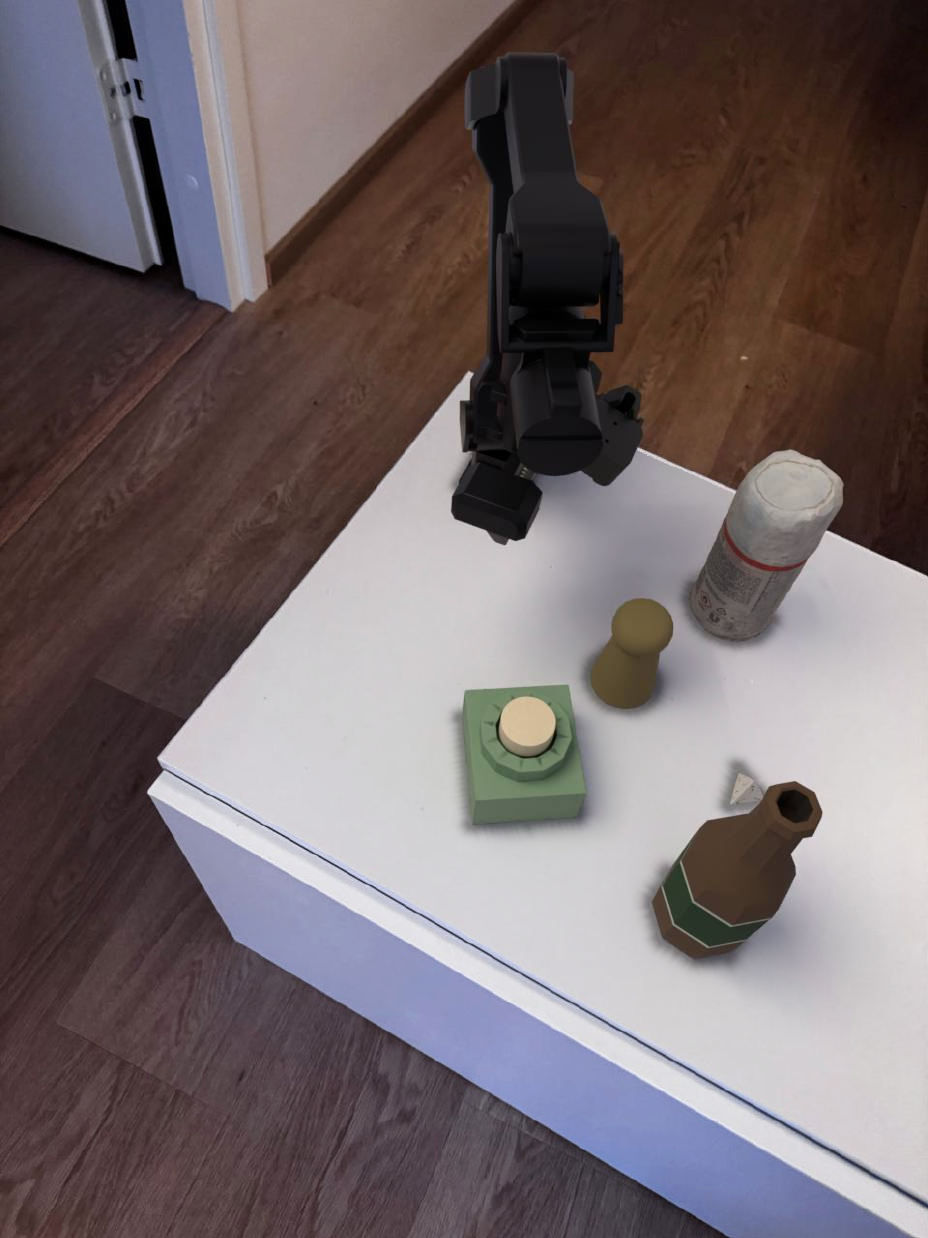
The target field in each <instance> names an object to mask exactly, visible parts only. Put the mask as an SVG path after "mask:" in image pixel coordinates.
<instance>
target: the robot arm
mask: <svg viewBox="0 0 928 1238" xmlns="http://www.w3.org/2000/svg"><path fill="white" fill-rule="evenodd" d="M574 80H575V72H574V71H573V70H571V69H570V68H568V67H567V60H566V57H565V56H564V57H563V56H558V55H557V53H556V52H506V54H505V55H504V56H497V58H496V60H495V62H493V63H489V64H487V65H484V66H481V67H478V68H476V69H473V70H471V71H469V73H468V75H467V79H466V82H465V87H464V127H465V130H467V131H468V130H469V131H470V130H471V150H472V152H473V154H474V157H475V158H476V160H477V163H478V164H479V166H480V168H481V170H482V172H483V174H484V176H485V178H486V181H488V185H489V187H488V188H489V189H488V191H489V192H488V193H489V195H488V197H489V198H488V242H487V243H488V245H487V246H488V248H487V250H488V251H487V302H486V303H487V307H486V308H487V309H486V310H487V311H486V353H485V355H484V357H483V358H482V359H481V361H480V363H479V364H478V366H477V368H476V369H475V371H474V373H473V374H472V376H471V377H470V378H469V379H470V380H469V399H467V400H466V399H465V400H464V399H463V400H462V399H461V400H459V429H460V430H459V431H460V441H461V442H460V443H461V453H463V454H464V453H465V454H467V453H468V452H471V458H470V460H469V462H468V463H467V466H466V467H465V469H464V470H463V473H462V474H461V476H460V478H459V479H458V484H457V486H456V488H455V489H454V492H453V493H452V496H451V504H450V506H451V507H450V513H451V515H452V517H453V518H454V520H456V521H459V522H460V523H464V524H466V525H470V526H472V527H475V528H478V529H481V530H483V531H485V532H486V533H487V534H488V536H489V537H490V538H491V540H493V542H494V543H497V544H499V545H501V546H507V544H508V543H509V540H510V541H513V542H518V541H522V540H524V539H526V537H527V535H528V533H529V531H530V529H531V527H532V526H533V524H534V522H535V519H536V517H537V515H538V513H539V511H540V509H541V508H540V507H541V504H542V502H543V501H542V500H543V496H544V495H543V494H544V492H543V491H542V489H541V488H540V487H539V486H538V485H537V483H536V482H535V481H534V480H533V479H534V477H535V475H536V474H537V475H541V476H545V477H562V476H569V475H572V474H576V473H578V472H581V473H583V474H584V475H586V476H588V478H591V479H592V481H593V482H594V483H595V484H597V485H599V486H602V487H607V486H610V485H611V484H613V482H614V481H615V480H616V479H617V478H618V477H619V476H620V475H621V474H622V473H623V472H624V471H625V470H626V469H627V468H628V467H629V466H630V465H631V464H632V462H633V459H634V457H635V455H636V453H637V450H638V449H639V446H640V444H641V441H642V440H643V436H644V431H643V427H642V426H643V424H644V422H645V419H644V418H643V417H639V418H638V415H639V412H640V410H641V402H642V401H641V400H642V392H640V391H638V390H637V389H635V388H634V387H633V386H631V385H630V384H625V385H622V386H618V387H616V388H613V389H610V390H609V391H608V392H606V393H605V392H601V393H600V394H597V393H598V392H599V389H600V386H601V381H602V376H603V372H602V371H601V369H600V368H599V367H598V365H597V364H596V362H595V361H594V360H590V357H591V353H613V352H614V351H615V350H614V349H615V335H616V334H615V333H616V326H621V325H622V324H623V323H624V261H625V260H624V253H623V250H621V249H620V248H621V243H620V241H619V240H618V237H617V235H616V233H614V232H611V230H610V226H609V223H608V218H607V215H606V212H605V208H604V204H603V202H602V199H601V198H599V196H597V195H596V194H595V193H593V192H592V191H591V190H589V189H588V188H586V187H585V186H584V185H583V184H581V183H580V180H579V176H578V170H577V163H576V157H575V151H574V146H573V140H572V134H571V128H570V126H571V125H572V124H573V122H574V87H575V85H574V84H575V83H574ZM598 304H599V313H600V314H599V315H600V316H599V317H600V320H599V318H586V316H585V314H584V310H583V308H584V307H585V308H586V307H588V308H589V307H590V308H592V307H596V306H597V305H598ZM582 307H583V308H582Z"/></svg>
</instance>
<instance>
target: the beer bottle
mask: <svg viewBox="0 0 928 1238" xmlns="http://www.w3.org/2000/svg"><path fill="white" fill-rule="evenodd" d="M822 818H823V810H822V806H821V804H820V802H819V799H818V797H817V794H816V792H815V791H813V790H811V789H810V788H808V787H807V786H805V785H803V784H801V783H800V782H798V781H797V780H792V781H788V782H787V781H786V782H781V783H776V784H772V785H769V786H768V788H767V789H766V791H765V793H764V794H763V798H762V800H761V801H759V803H758V804H757V805H756V806H755V807H754V808H752V809H751V811H749V812H748V813H742V814H736V815H729V816H724V817H719V818H712V819H707V820H706V821H705V822H704V823H703V824H702V825H701V826H700V827H699V828H698V830H696V831H695V833H694V834H693V836H692V838H691V839H690V840H689V842H688V843H687V844H686V845H685V847H684V849H682V851H681V853H680V854H679V855H678V856H677V858H676V860H675V861H674V862H673V864H672V865H671V866H670V868H669V870H668V872H667V874H666V875H665V877H664V879H663V881H662V882H661V884H660V887H659V888H658V890H657V891H656V893H655V895H654V897H653V898H652V900H651V904H652V908H653V911H654V915H655V918H656V923H657V925H658V928H659V929H658V930H659V933H660V935H661V938H662V939H663V940H664V941H666V942H667V943H669V944H671V945H672V946H674V947H675V948H676V949H678V950H680V951H681V952H683V953H684V954H686V955H688V957H690V958H691V959H694V960H698V959H703V958H708V957H715V956H719V955H723V954H728V953H731V952H733V951H734V950H736V949H737V948H739V947H741V945H742V944H743V943H745V942H746V941H747V940H748V939H749V938H750V937H751V936H753V935H754V934H755V933H756V932H758V931H759V930H760V929H761V928H762V927H763V926H765V925H766V924H767V923H768V922H769V921H770V920H772V919H773V917H775V915H776V914H777V912H778V911H779V910H780V908H781V907H782V904H783V902H784V901H785V898H786V896H787V895H788V893H789V891H790V888H791V886H792V884H793V882H794V880H795V878H796V876H797V869H796V867H797V866H796V863H795V861H794V859H793V855H792V854H793V853H794V851H795V850H796V849H797V847H798V846H799V845H800V843H801V842H802V841H803V840H804V839H809V838H812V837H814V834H815V832H816V830H817V828H818V826H819V824H820V822H821V820H822Z"/></svg>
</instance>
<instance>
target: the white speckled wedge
mask: <svg viewBox="0 0 928 1238" xmlns="http://www.w3.org/2000/svg"><path fill="white" fill-rule="evenodd" d="M734 783H735V784H734V787H733V791H732V795H731V797H730V802H729V804H730V805H737V804H747V803H753V802H761V800H762V798H763V796H764V794H763V792H762V790H761V789H760V787H759V786H758V784H757V782H756V780H755V779H754V778H751V777H749V776H747V775H745V774H743V773H741V772H738V773H737V777H736V780H735V782H734Z"/></svg>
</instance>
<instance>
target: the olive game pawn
mask: <svg viewBox="0 0 928 1238" xmlns="http://www.w3.org/2000/svg"><path fill="white" fill-rule="evenodd" d="M610 630H611V636H610V637H609V639H608V641H607V642H606V644H605V645H604V647H603V649H602V651H601V652H600V654H599V655H598V657H597V659H596V660H595V662H594V663H593V665H592V667H591V669H590V676H589V681H590V684H591V688H592V690H593V691H594V693H595V695H596V696H597V697H598V698H599V699H600V700H601V701H602V702H603V703H604V704H607V705H609V706H611V707H613V708H618V709H622V710H626V709H628V710H629V709H635V708H638V707H640V706H643V705H644V704H645V703H647V701H649V699H651V697H652V695H653V693H654V691H655V685H656V679H657V674H658V668H659V662H660V656H661V653H662V652H663V651H664V650H666V648H667V647H668V646H669V645H670V642H671V640H672V638H673V636H674V621H673V618H672V615H671V613H669V611H668V609H667V608H666V607H665V606H664V605H662V604H661V603H660V602H659V601H656V600H653V599H652V598H646V597H638V598H632V599H629V600H627V601H624V602H623V603H622V604H621V605H620V606H619V607H618V608H617V609H616V611H615V613H614V615H613V616H612V619H611V626H610Z"/></svg>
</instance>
